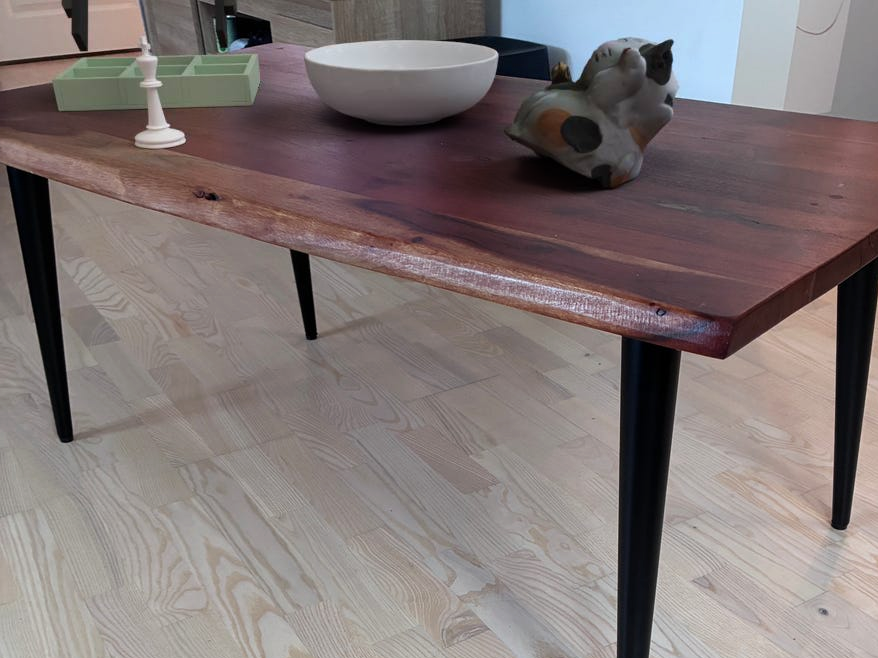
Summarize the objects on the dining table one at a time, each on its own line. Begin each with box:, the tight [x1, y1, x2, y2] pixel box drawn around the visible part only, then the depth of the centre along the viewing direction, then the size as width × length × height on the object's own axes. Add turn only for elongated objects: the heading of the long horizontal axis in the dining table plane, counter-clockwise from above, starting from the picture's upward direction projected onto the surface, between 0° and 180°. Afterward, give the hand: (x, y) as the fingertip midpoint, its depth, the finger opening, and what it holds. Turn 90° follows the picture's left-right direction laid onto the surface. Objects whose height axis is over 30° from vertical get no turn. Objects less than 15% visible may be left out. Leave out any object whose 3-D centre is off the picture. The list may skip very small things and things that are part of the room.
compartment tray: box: [51, 53, 261, 112], centre depth 112 cm, size 22×15×4 cm
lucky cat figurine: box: [503, 36, 680, 189], centre depth 81 cm, size 15×12×14 cm
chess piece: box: [134, 35, 187, 150], centre depth 91 cm, size 5×5×10 cm
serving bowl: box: [303, 39, 499, 127], centre depth 101 cm, size 21×21×7 cm
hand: (151, 41), depth 92 cm, fingers open, 13 cm apart
